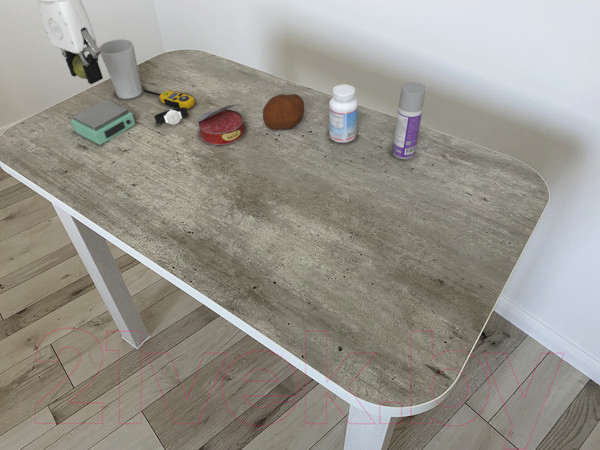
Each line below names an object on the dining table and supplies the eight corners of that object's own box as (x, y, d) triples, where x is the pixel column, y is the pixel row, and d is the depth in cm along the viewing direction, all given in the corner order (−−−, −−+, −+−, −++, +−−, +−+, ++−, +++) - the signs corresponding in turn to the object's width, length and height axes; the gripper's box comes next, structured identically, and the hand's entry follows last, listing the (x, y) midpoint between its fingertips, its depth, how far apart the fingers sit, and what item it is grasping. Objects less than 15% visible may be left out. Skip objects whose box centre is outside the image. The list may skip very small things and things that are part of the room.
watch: (159, 130, 110) (155, 116, 107) (153, 120, 113) (149, 106, 110) (191, 120, 112) (188, 107, 110) (185, 111, 115) (182, 98, 113)
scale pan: (95, 131, 104) (94, 127, 104) (73, 119, 108) (72, 116, 107) (128, 112, 109) (127, 109, 109) (106, 102, 113) (105, 99, 112)
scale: (100, 145, 106) (96, 134, 104) (75, 132, 110) (70, 120, 108) (136, 124, 112) (133, 113, 109) (110, 112, 116) (107, 101, 114)
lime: (85, 71, 104) (77, 49, 100) (104, 75, 103) (96, 52, 99) (71, 81, 101) (63, 58, 98) (90, 85, 100) (82, 62, 96)
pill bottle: (352, 126, 109) (354, 80, 101) (359, 142, 105) (362, 95, 97) (325, 129, 108) (326, 83, 100) (331, 145, 104) (332, 98, 96)
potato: (313, 122, 111) (313, 92, 105) (282, 143, 105) (280, 113, 100) (286, 110, 115) (285, 80, 109) (254, 129, 109) (251, 99, 104)
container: (414, 147, 103) (426, 82, 92) (414, 160, 99) (426, 94, 89) (392, 145, 103) (401, 80, 93) (391, 158, 100) (400, 93, 90)
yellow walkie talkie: (185, 104, 114) (136, 90, 119) (186, 111, 115) (138, 97, 120) (197, 95, 117) (149, 82, 122) (198, 102, 118) (150, 89, 123)
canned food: (210, 160, 109) (181, 130, 102) (215, 131, 115) (189, 101, 108) (252, 142, 104) (225, 109, 98) (255, 112, 111) (230, 80, 104)
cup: (127, 82, 126) (114, 37, 118) (152, 88, 124) (140, 42, 115) (106, 96, 121) (91, 50, 113) (131, 103, 119) (117, 56, 110)
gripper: (10, -17, 91) (48, 73, 103) (64, 1, 83) (97, 96, 96) (46, -28, 95) (78, 60, 108) (100, -12, 87) (127, 81, 100)
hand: (87, 76), depth 102 cm, fingers closed on lime, 5 cm apart
